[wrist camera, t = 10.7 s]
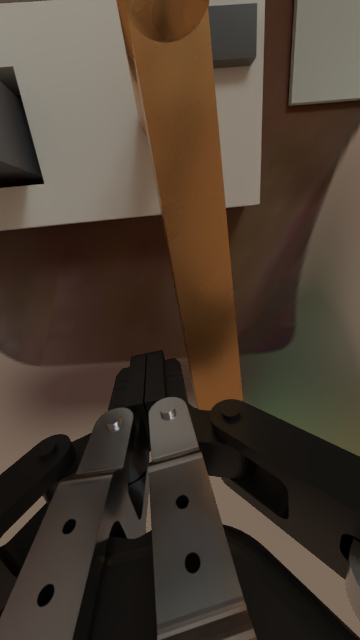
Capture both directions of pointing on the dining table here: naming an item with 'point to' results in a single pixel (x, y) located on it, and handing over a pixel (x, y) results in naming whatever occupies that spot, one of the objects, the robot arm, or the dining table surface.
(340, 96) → the mat
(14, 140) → the plug
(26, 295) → the dining table surface
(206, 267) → the orange lever handle
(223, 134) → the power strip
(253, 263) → the dining table surface
